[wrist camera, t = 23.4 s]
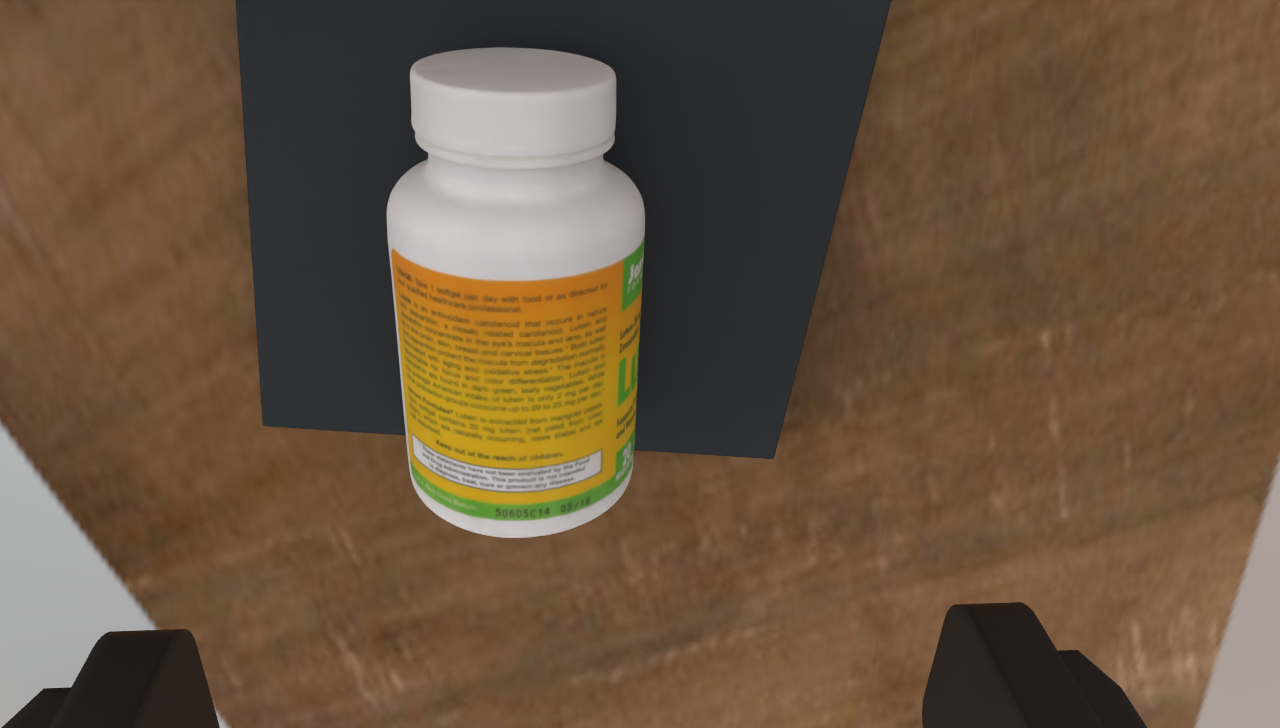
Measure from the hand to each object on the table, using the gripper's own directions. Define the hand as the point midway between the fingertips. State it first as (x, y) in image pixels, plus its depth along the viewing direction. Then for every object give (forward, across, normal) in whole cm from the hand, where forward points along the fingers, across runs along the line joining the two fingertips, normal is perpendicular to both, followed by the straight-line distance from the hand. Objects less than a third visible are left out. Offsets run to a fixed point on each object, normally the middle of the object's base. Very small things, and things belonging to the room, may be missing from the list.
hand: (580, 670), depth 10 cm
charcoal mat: (+15, 0, 0) cm, 15 cm away
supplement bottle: (+12, +1, +6) cm, 13 cm away
